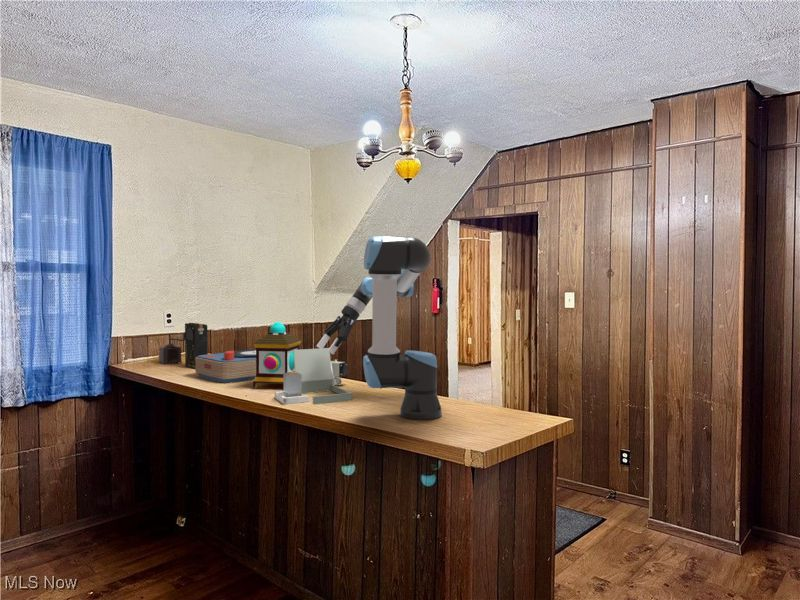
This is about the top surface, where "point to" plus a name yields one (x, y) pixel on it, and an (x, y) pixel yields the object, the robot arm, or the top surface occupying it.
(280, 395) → the dock
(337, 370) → the pneumatic valve
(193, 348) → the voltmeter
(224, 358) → the record player
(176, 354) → the dark handled box
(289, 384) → the block
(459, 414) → the top surface
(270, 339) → the decorative lantern
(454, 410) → the top surface
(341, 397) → the case
